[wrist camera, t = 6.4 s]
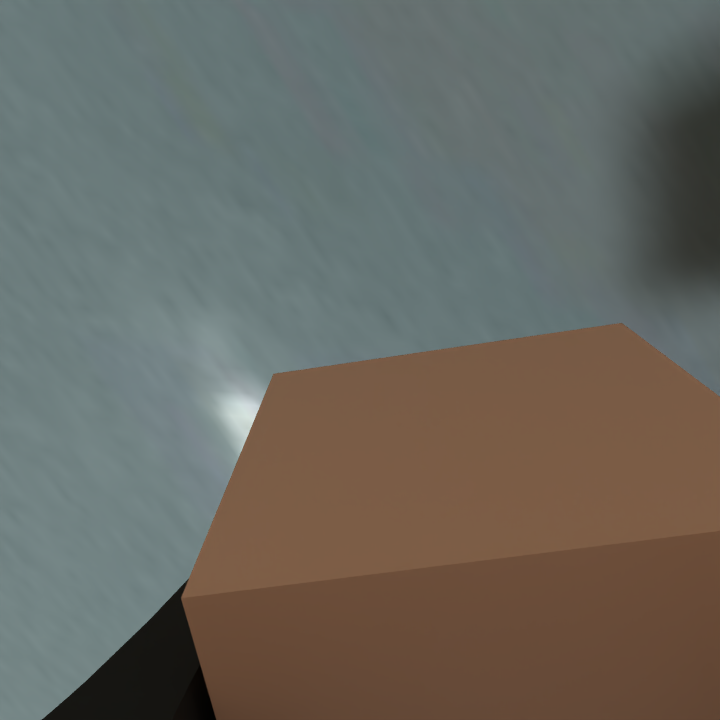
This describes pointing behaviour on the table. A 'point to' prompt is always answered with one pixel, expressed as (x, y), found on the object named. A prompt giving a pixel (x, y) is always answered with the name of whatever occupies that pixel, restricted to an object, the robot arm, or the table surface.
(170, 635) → the robot arm
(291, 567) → the terracotta block
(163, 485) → the table surface
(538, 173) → the table surface
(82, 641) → the table surface
